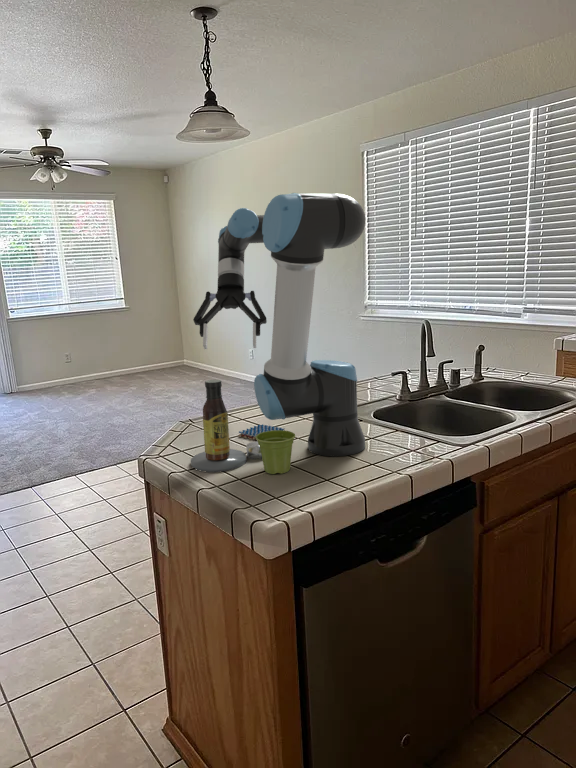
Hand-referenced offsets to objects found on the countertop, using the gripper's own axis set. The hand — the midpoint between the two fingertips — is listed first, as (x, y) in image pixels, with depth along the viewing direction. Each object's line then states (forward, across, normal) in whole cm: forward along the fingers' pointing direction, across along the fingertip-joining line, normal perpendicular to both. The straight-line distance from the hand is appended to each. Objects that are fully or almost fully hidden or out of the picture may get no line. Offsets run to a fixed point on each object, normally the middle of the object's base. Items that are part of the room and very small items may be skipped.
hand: (229, 346), depth 155 cm
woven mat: (+22, -8, -18) cm, 29 cm away
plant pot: (+36, -13, +8) cm, 39 cm away
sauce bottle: (+31, +2, +2) cm, 31 cm away
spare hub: (+30, -8, -2) cm, 31 cm away
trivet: (+32, +2, +2) cm, 32 cm away
